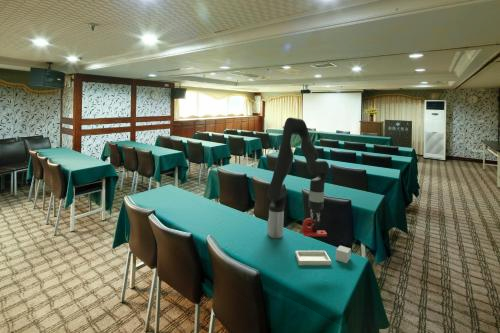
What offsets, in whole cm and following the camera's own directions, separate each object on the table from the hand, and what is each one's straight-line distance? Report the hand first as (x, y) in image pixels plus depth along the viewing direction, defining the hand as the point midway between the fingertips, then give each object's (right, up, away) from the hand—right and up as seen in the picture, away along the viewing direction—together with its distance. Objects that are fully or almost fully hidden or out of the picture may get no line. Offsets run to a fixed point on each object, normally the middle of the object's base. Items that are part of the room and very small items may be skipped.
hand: (314, 230), depth 146 cm
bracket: (0, -2, -1) cm, 2 cm away
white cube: (+16, -17, +5) cm, 24 cm away
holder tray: (0, -16, +3) cm, 17 cm away
